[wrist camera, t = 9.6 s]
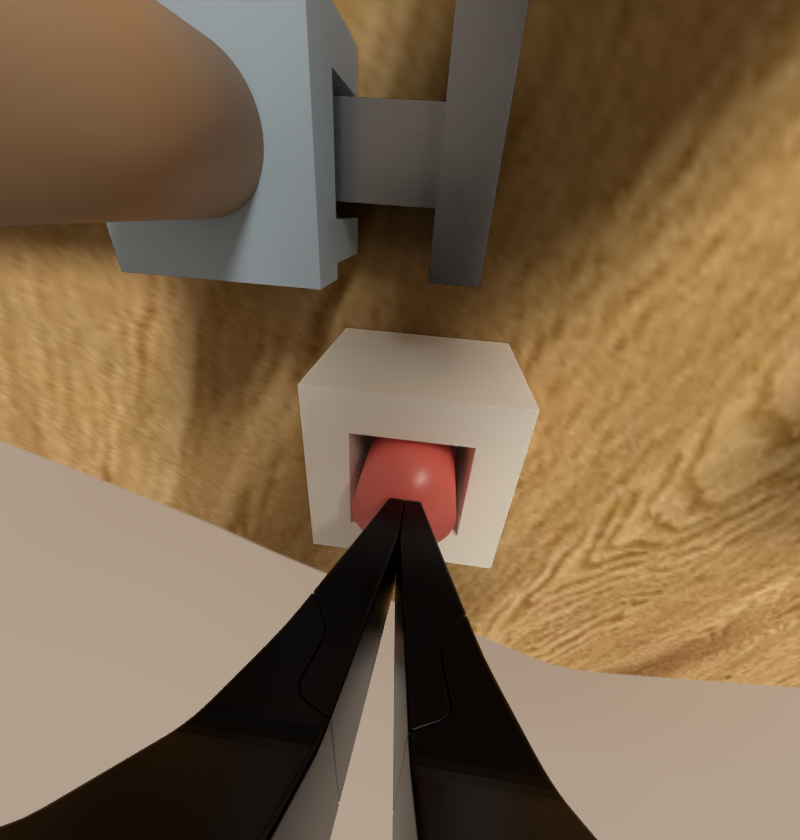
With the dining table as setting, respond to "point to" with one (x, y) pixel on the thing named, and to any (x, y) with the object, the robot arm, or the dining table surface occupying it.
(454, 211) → the rail
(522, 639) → the dining table surface
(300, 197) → the carriage
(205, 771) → the robot arm
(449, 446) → the button
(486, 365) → the socket block
